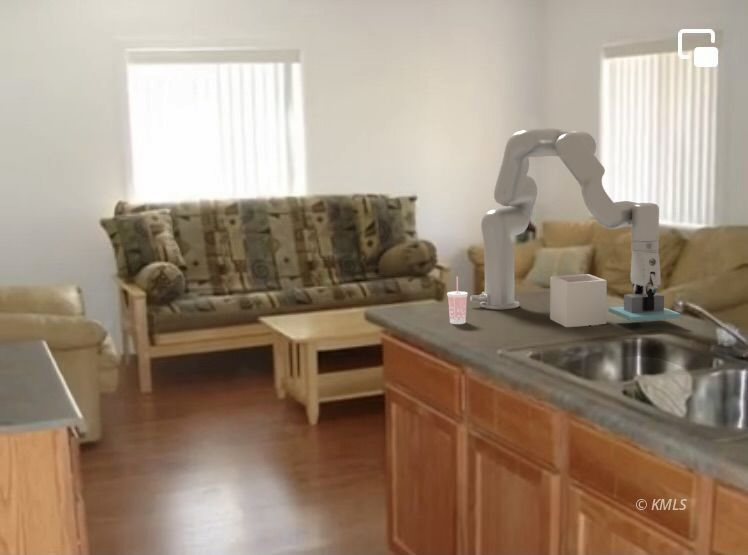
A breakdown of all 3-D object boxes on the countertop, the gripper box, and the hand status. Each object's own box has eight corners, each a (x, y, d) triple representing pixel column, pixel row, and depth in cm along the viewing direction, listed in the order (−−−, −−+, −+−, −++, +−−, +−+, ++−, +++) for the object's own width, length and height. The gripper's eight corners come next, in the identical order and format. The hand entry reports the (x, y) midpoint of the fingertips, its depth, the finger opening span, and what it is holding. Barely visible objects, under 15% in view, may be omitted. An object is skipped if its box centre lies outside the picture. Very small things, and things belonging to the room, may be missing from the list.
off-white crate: (566, 327, 290) (566, 282, 287) (550, 319, 302) (550, 276, 299) (606, 324, 292) (606, 280, 290) (588, 316, 304) (589, 274, 302)
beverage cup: (471, 321, 301) (470, 275, 299) (463, 325, 296) (462, 278, 293) (452, 319, 304) (451, 274, 301) (444, 323, 298) (443, 277, 296)
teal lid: (631, 323, 281) (631, 301, 280) (608, 314, 296) (608, 292, 295) (680, 320, 284) (680, 297, 283) (655, 310, 299) (655, 289, 298)
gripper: (671, 249, 279) (670, 313, 282) (643, 242, 296) (642, 302, 298) (646, 250, 278) (645, 315, 280) (619, 243, 294) (618, 304, 297)
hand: (643, 308), depth 289 cm, fingers closed on teal lid, 5 cm apart
